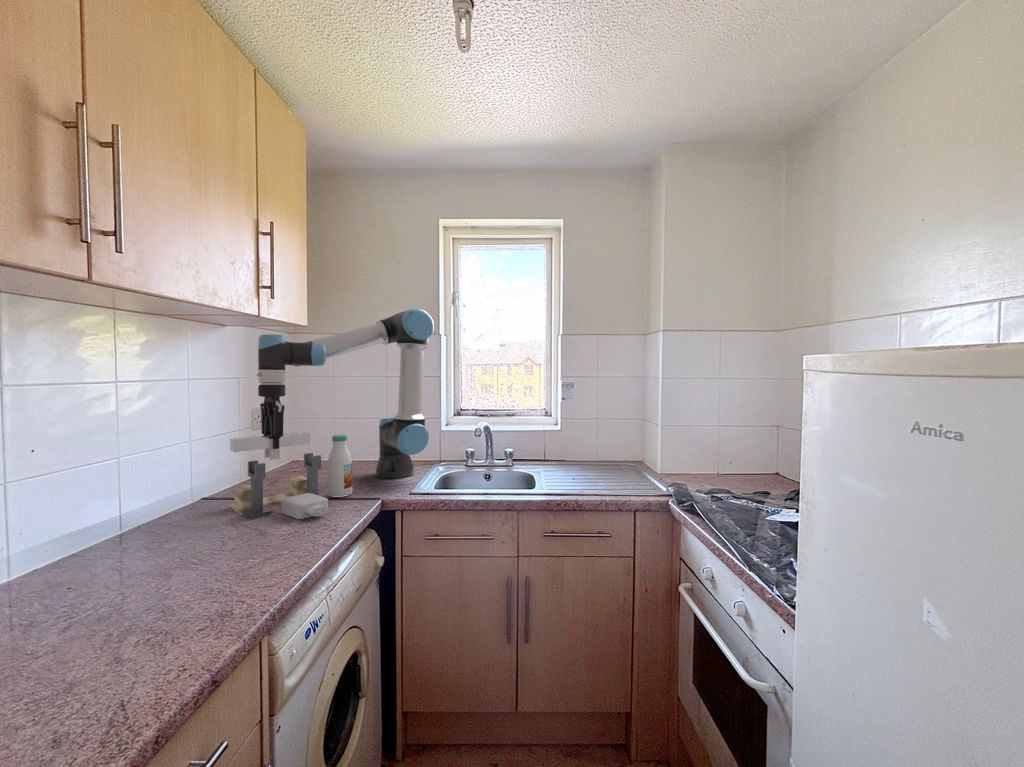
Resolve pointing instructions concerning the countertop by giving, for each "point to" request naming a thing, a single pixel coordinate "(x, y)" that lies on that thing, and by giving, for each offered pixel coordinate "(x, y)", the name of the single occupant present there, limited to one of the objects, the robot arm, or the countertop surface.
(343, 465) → the milk bottle
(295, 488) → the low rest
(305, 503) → the charger
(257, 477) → the hook standards
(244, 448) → the rail
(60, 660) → the countertop surface
